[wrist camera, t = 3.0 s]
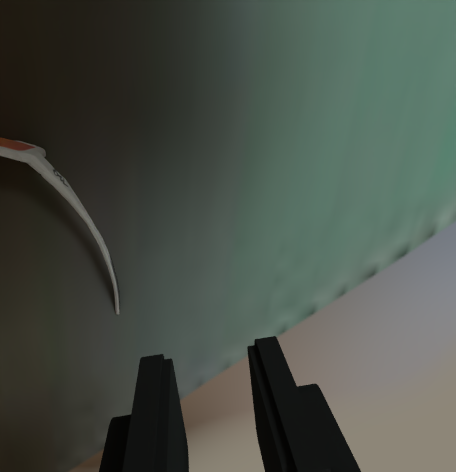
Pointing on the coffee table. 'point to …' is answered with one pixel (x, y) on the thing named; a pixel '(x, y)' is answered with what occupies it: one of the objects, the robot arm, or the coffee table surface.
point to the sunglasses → (43, 167)
